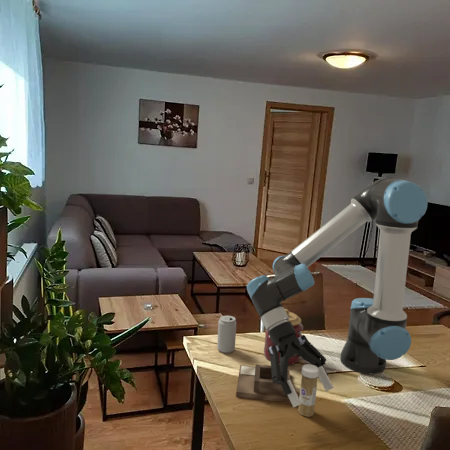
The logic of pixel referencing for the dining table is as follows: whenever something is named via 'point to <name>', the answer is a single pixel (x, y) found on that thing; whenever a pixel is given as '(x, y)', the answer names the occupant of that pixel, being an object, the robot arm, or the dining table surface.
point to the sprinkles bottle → (308, 389)
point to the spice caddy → (259, 384)
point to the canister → (298, 328)
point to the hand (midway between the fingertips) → (314, 397)
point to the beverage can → (226, 334)
